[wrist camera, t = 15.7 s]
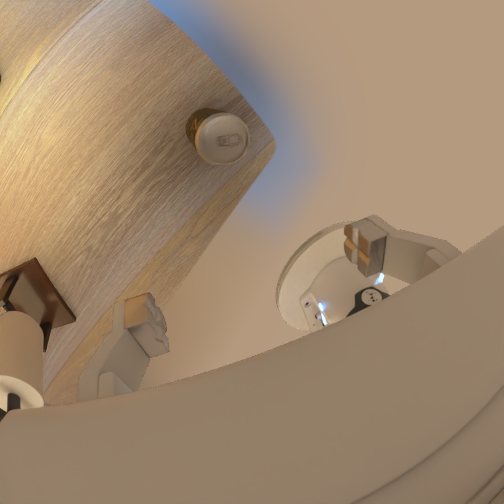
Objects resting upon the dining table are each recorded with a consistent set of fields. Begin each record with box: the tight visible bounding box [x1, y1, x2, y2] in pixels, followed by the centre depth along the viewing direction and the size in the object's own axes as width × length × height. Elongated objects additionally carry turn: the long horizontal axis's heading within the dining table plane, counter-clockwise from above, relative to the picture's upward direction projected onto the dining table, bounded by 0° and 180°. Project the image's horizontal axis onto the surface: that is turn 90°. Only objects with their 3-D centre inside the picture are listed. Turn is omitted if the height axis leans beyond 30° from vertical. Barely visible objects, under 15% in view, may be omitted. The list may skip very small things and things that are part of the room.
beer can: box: [186, 108, 251, 166], centre depth 29 cm, size 5×5×12 cm
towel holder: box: [0, 300, 44, 422], centre depth 25 cm, size 22×9×9 cm
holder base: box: [0, 258, 76, 352], centre depth 34 cm, size 14×14×8 cm
